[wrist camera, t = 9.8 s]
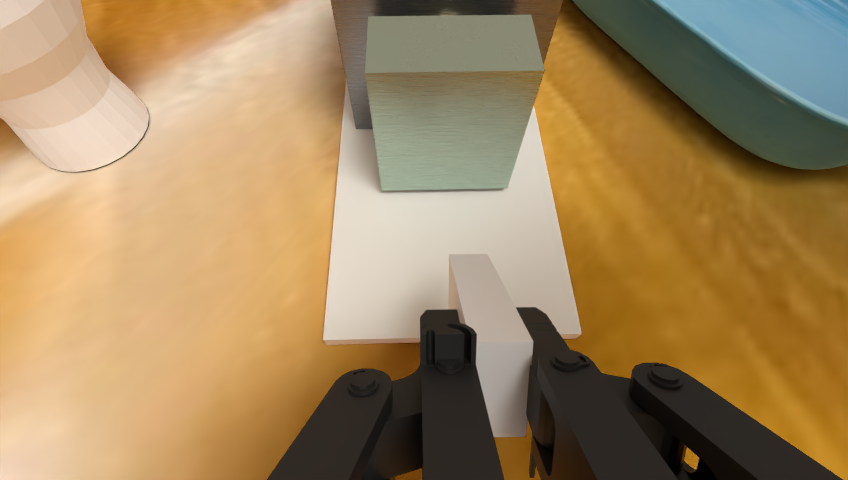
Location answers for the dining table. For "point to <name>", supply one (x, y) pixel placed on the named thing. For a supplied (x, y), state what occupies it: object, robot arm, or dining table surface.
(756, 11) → the casserole dish
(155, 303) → the dining table surface
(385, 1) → the bearing block
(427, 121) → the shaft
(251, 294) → the dining table surface
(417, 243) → the base board
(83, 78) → the cup
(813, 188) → the dining table surface
